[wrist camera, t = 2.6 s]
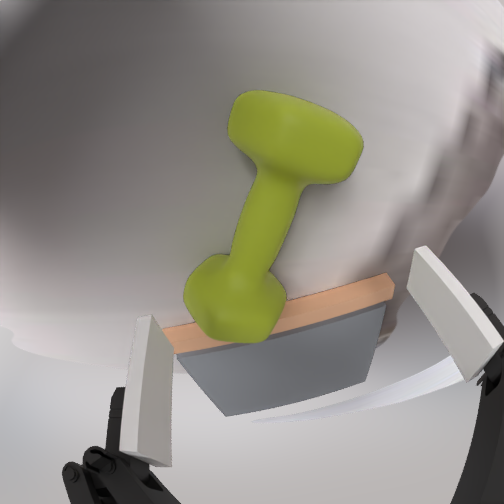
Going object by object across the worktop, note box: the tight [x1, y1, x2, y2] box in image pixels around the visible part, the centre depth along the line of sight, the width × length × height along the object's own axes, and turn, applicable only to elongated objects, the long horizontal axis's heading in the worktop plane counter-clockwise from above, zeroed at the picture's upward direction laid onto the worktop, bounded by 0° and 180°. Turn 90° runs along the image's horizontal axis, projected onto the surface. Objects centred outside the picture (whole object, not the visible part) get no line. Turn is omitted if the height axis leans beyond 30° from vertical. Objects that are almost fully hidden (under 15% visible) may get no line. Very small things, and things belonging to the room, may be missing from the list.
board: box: [177, 301, 386, 416], centre depth 35 cm, size 20×24×1 cm
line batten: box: [162, 273, 395, 354], centre depth 27 cm, size 2×24×2 cm, turn 101°
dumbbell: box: [183, 90, 364, 343], centre depth 18 cm, size 16×8×7 cm, turn 162°
